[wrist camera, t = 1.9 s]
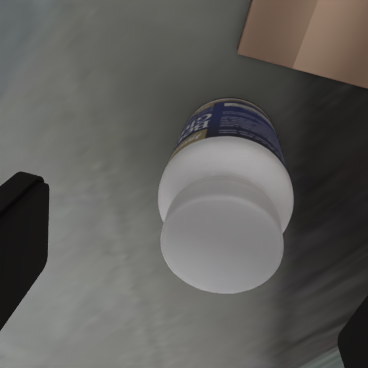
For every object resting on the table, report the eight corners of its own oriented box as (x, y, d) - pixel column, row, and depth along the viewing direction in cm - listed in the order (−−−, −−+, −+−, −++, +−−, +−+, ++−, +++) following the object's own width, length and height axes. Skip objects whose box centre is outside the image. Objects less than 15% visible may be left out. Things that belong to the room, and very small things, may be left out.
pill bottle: (202, 79, 18) (171, 144, 9) (293, 119, 18) (346, 217, 9) (169, 164, 20) (119, 275, 12) (249, 197, 20) (258, 329, 12)
